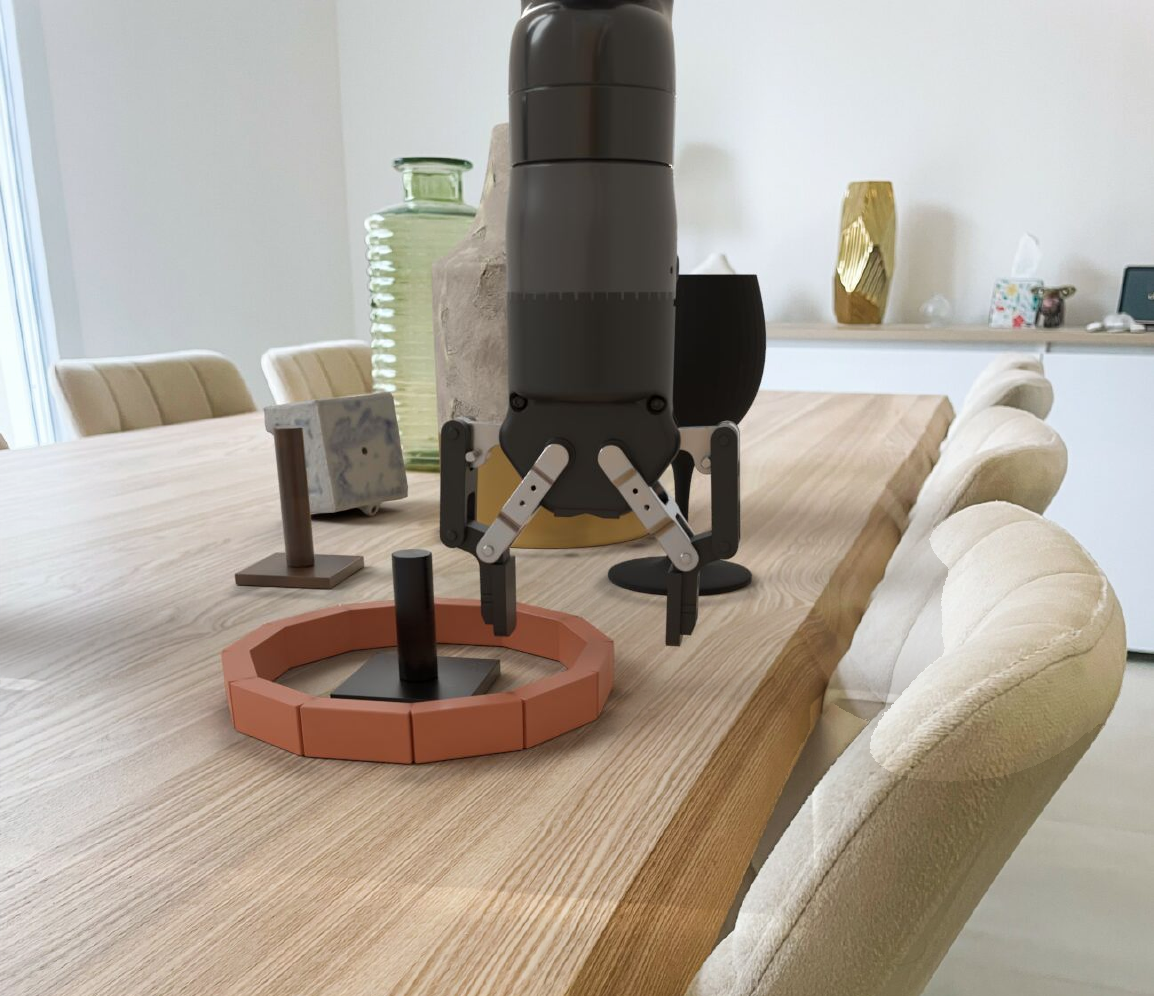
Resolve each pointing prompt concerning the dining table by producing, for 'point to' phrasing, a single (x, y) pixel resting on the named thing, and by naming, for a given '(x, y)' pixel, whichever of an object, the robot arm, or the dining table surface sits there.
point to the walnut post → (296, 528)
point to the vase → (494, 361)
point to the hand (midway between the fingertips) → (589, 637)
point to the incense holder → (347, 450)
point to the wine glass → (707, 399)
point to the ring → (423, 724)
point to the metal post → (417, 648)
